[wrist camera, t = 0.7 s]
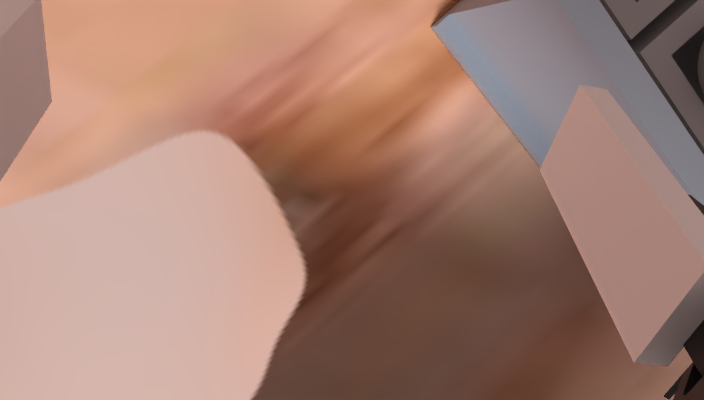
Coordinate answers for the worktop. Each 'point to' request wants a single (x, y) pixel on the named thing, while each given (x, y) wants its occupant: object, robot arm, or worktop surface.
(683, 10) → the button board
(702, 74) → the button
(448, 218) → the worktop surface
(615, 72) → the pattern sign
